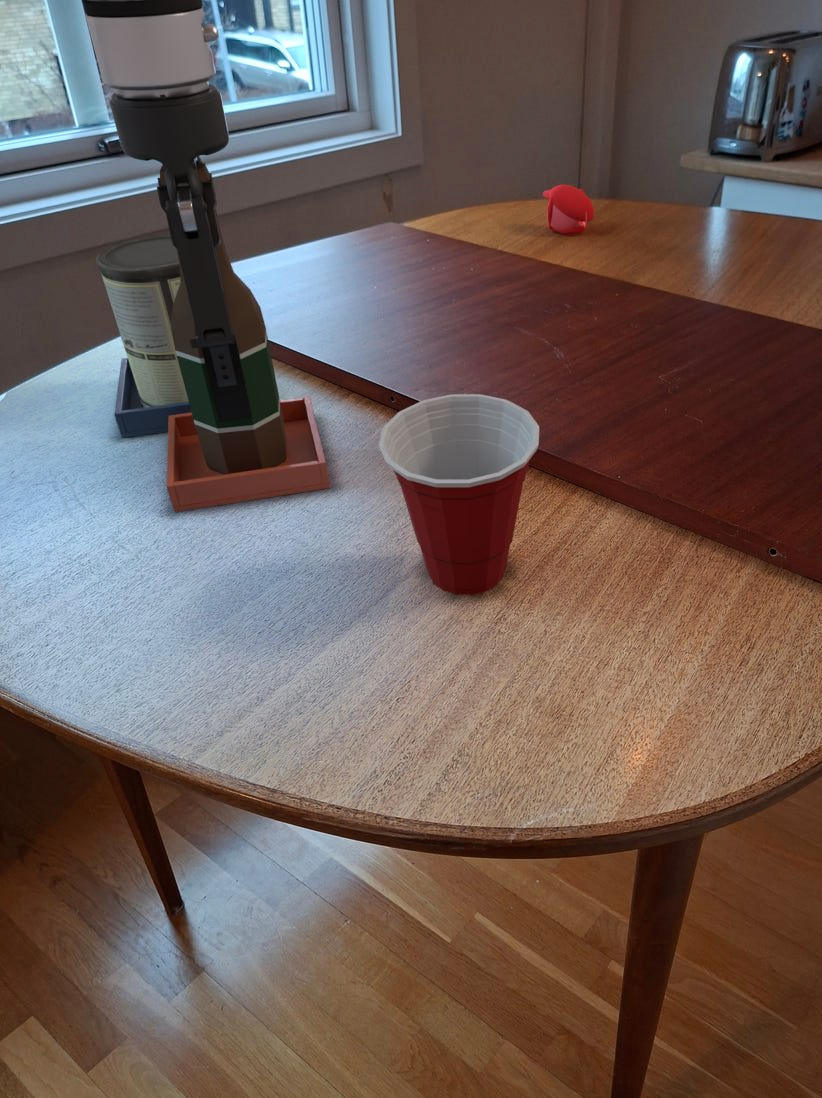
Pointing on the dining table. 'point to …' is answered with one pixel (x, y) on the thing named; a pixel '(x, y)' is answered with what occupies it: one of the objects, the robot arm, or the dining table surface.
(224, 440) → the beer bottle
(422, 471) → the plastic cup
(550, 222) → the cap
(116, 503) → the dining table surface
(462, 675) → the dining table surface
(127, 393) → the slate tray
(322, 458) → the terracotta tray
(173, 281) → the coffee can
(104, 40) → the robot arm
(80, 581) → the dining table surface
